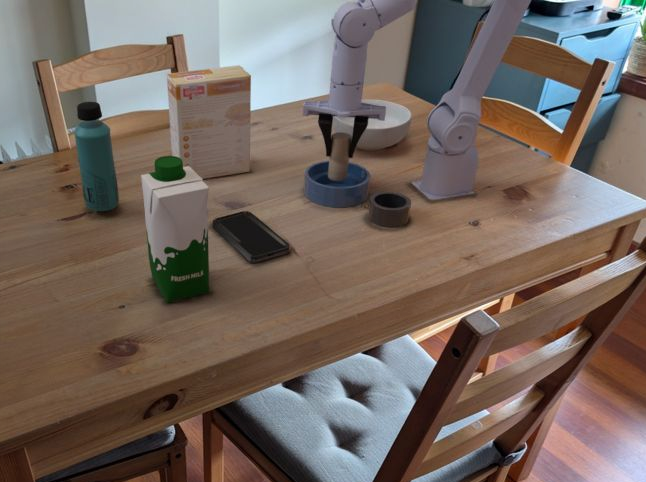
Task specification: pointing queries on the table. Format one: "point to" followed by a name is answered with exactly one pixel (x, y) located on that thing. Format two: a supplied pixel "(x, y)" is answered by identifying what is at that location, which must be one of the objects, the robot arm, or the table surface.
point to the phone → (250, 236)
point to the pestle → (339, 156)
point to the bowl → (336, 186)
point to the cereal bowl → (378, 126)
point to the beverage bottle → (96, 159)
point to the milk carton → (177, 229)
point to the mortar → (389, 209)
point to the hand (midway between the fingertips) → (339, 155)
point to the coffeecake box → (211, 119)
